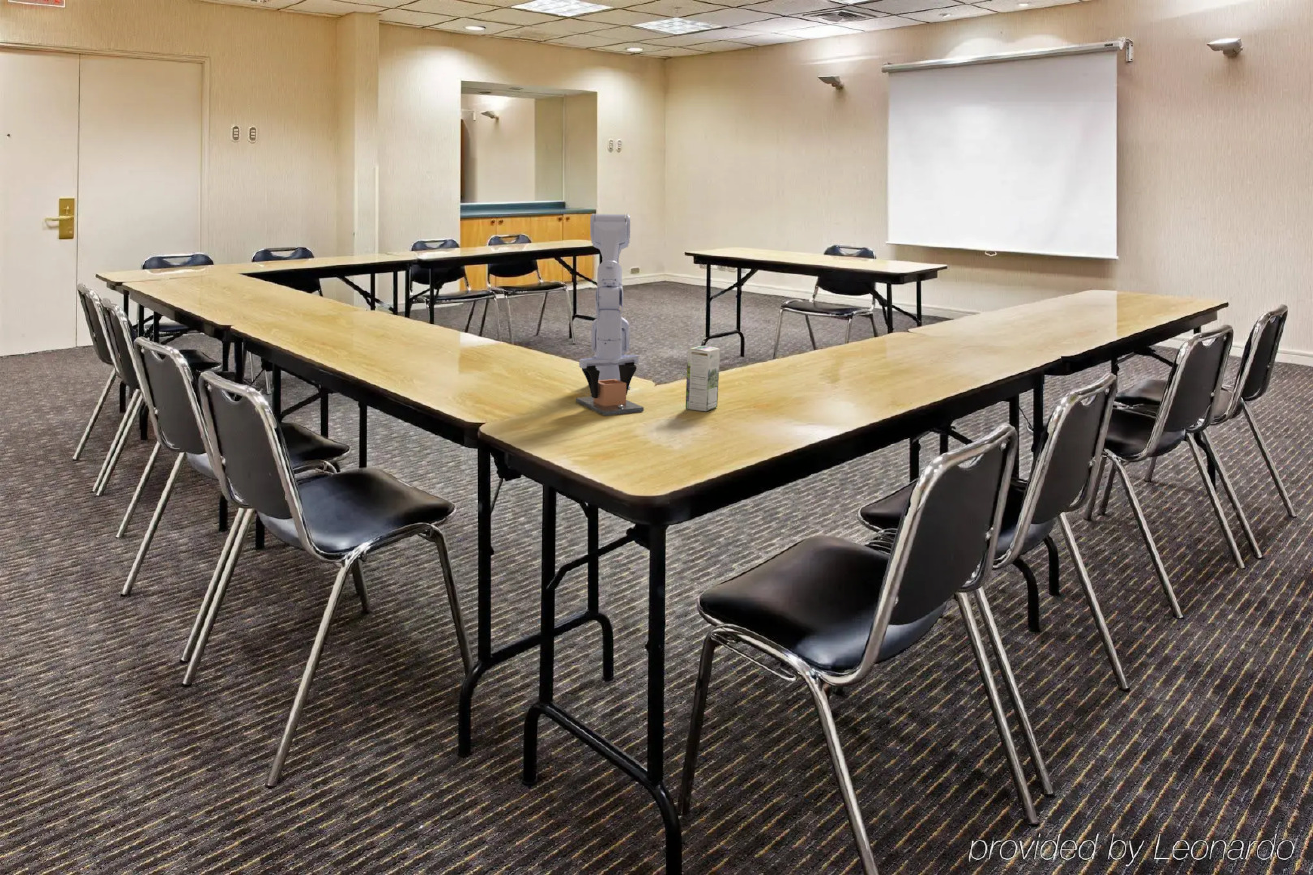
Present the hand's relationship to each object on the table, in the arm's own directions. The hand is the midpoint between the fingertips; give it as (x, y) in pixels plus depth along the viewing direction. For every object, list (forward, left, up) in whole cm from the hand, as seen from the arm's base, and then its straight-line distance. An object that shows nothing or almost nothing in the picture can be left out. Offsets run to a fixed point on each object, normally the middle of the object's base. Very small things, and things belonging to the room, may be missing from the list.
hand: (609, 395), depth 232 cm
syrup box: (+11, +19, -3) cm, 22 cm away
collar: (0, 0, -2) cm, 2 cm away
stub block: (0, 0, -3) cm, 3 cm away
